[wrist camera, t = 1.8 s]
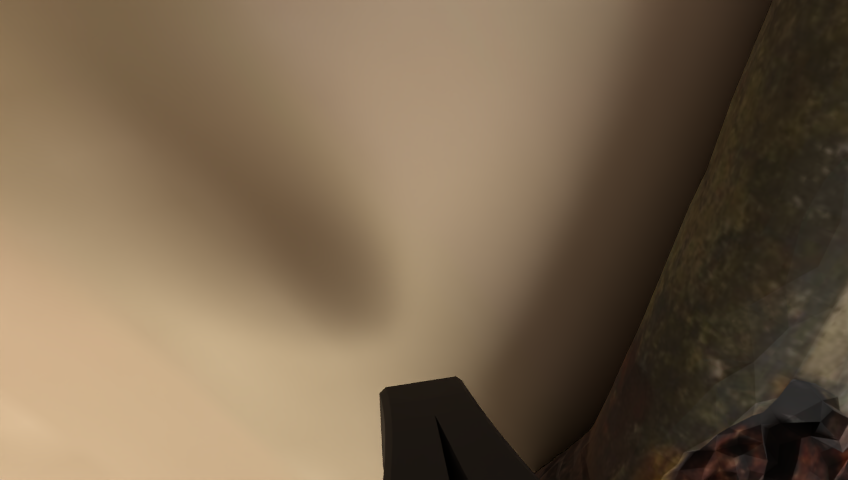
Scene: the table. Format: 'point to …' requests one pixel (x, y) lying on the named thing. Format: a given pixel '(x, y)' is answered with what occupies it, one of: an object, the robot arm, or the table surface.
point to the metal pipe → (748, 288)
